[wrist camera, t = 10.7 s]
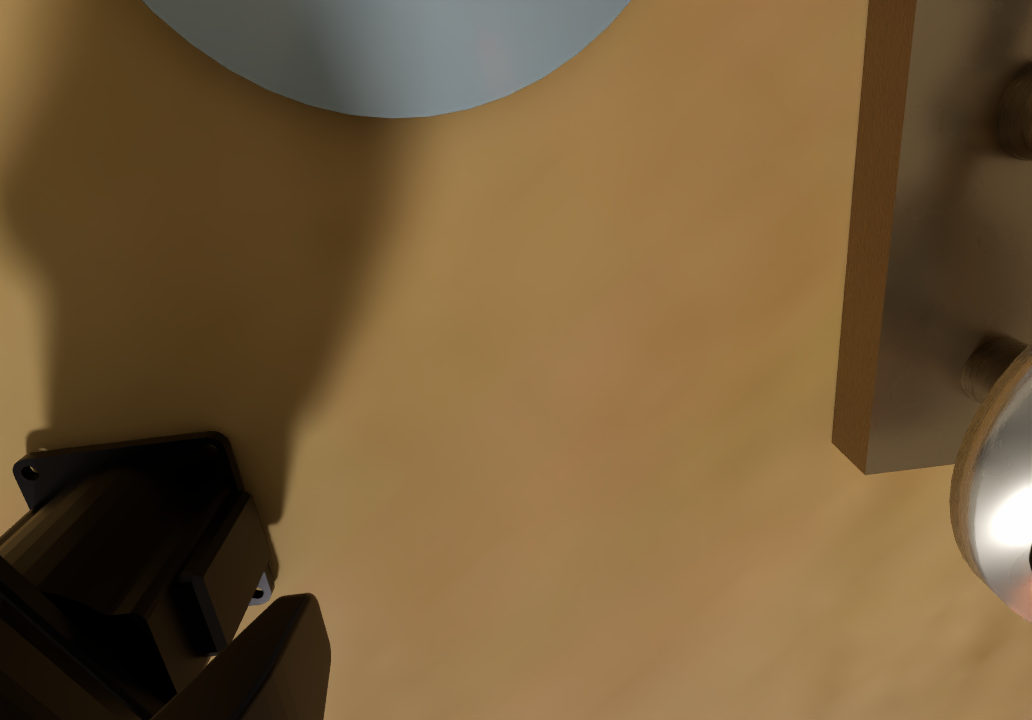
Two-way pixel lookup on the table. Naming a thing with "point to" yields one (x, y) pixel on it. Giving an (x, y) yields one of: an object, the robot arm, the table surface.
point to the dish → (390, 47)
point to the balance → (946, 271)
